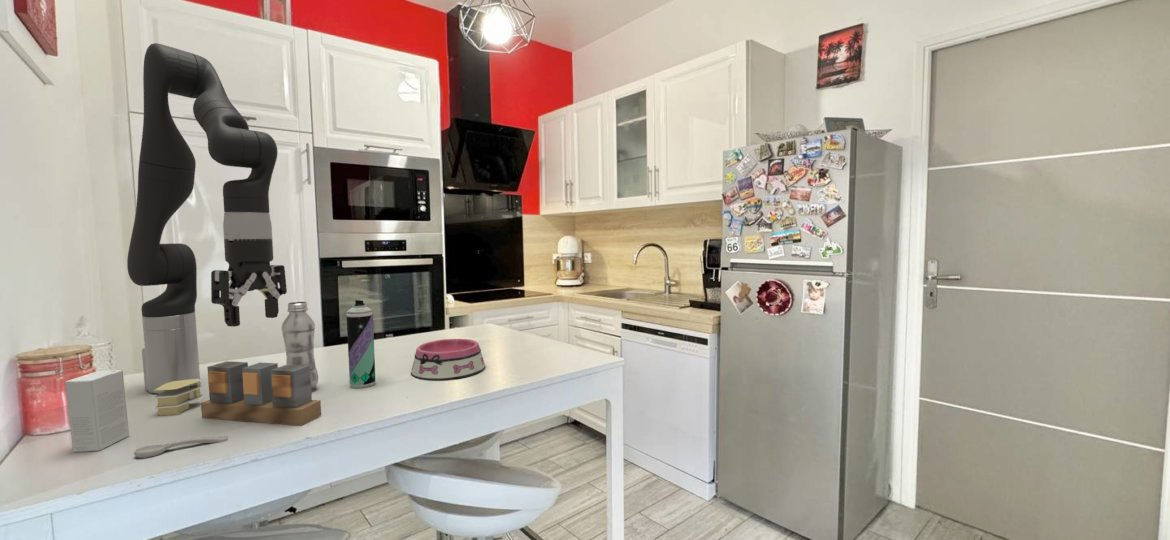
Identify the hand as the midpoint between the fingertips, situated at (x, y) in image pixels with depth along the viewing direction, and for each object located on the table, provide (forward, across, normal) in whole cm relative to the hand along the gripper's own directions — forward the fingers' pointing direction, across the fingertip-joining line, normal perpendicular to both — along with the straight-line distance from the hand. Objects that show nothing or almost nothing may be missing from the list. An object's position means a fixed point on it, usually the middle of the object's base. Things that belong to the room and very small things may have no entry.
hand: (253, 321), depth 92 cm
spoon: (+19, +14, -1) cm, 24 cm away
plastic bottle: (+19, -15, -3) cm, 24 cm away
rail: (+19, 0, +1) cm, 19 cm away
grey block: (+16, 0, +1) cm, 16 cm away
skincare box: (+19, +15, -16) cm, 29 cm away
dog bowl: (+19, -35, +22) cm, 46 cm away
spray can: (+19, -21, +8) cm, 29 cm away
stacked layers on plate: (+19, 0, -19) cm, 27 cm away
